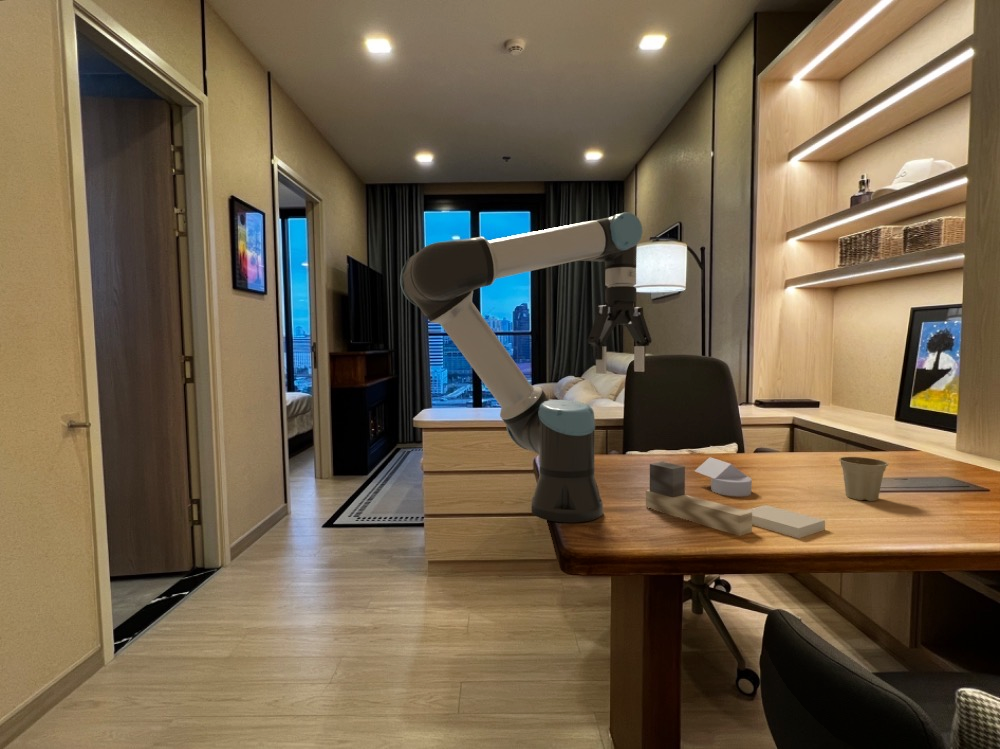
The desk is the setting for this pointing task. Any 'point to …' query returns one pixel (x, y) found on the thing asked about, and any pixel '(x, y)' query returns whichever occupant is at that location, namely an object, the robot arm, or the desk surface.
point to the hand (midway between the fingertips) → (620, 372)
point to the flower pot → (862, 477)
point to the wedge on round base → (725, 478)
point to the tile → (786, 521)
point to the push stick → (692, 502)
